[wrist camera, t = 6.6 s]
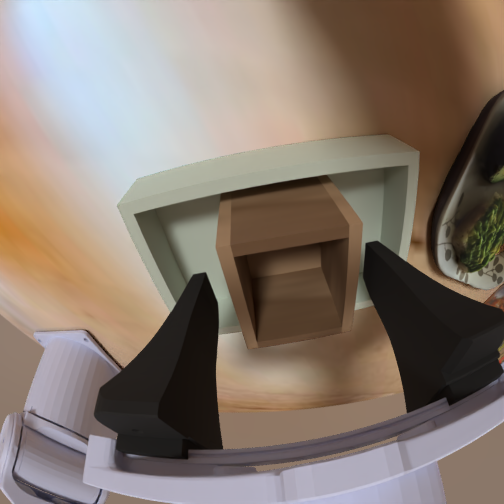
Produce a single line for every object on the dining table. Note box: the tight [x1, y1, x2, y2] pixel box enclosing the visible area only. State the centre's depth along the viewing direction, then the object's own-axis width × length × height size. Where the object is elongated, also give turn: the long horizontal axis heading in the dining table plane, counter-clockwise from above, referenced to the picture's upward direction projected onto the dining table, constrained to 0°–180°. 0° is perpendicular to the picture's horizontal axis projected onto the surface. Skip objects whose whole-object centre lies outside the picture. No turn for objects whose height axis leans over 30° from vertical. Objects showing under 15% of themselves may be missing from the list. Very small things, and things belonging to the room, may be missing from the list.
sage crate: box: [117, 134, 420, 335], centre depth 14 cm, size 9×13×3 cm
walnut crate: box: [215, 175, 363, 349], centre depth 13 cm, size 6×5×5 cm
